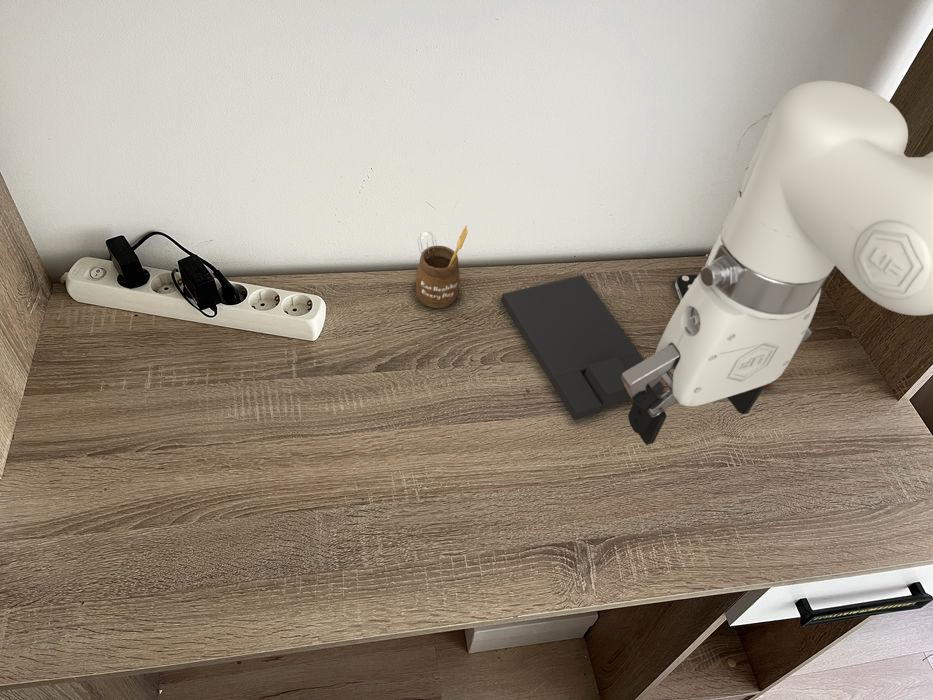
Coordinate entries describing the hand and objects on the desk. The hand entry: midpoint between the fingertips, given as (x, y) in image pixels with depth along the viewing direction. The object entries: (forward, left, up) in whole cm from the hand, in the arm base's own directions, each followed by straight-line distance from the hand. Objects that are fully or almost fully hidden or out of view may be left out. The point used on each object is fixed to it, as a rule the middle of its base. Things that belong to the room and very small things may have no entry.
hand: (687, 415), depth 64 cm
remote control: (+10, -45, -24) cm, 52 cm away
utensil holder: (+40, -16, -24) cm, 50 cm away
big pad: (+20, -22, -24) cm, 38 cm away
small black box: (+13, -18, -24) cm, 33 cm away
